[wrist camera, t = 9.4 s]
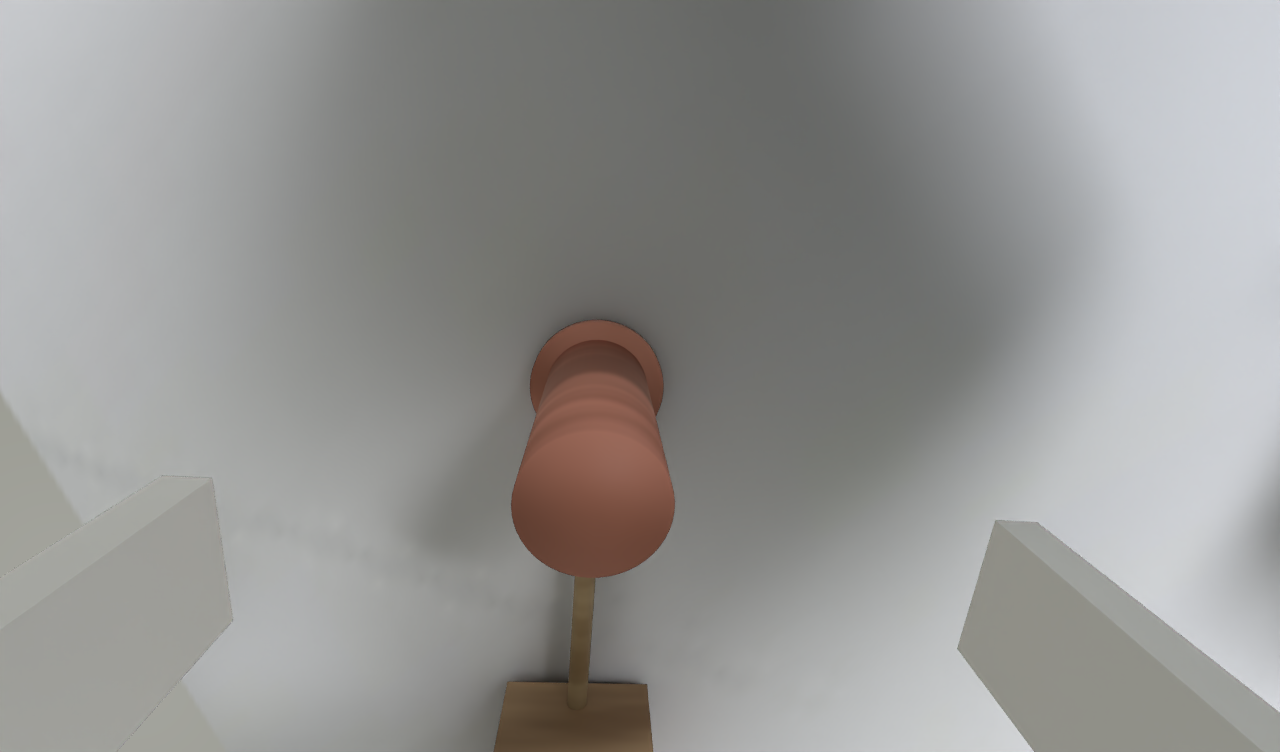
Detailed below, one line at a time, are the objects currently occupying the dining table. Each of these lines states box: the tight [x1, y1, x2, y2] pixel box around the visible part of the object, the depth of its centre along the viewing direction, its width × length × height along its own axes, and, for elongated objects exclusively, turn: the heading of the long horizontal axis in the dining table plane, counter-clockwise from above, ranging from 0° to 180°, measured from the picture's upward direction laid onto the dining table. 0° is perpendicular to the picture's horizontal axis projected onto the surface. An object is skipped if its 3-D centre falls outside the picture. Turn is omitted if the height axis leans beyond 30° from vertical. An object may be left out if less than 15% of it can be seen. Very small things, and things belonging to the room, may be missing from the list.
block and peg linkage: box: [494, 320, 675, 752], centre depth 20 cm, size 22×6×9 cm, turn 175°
